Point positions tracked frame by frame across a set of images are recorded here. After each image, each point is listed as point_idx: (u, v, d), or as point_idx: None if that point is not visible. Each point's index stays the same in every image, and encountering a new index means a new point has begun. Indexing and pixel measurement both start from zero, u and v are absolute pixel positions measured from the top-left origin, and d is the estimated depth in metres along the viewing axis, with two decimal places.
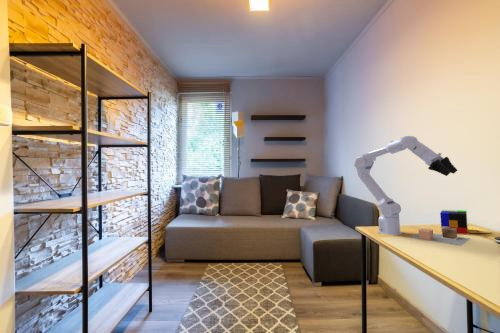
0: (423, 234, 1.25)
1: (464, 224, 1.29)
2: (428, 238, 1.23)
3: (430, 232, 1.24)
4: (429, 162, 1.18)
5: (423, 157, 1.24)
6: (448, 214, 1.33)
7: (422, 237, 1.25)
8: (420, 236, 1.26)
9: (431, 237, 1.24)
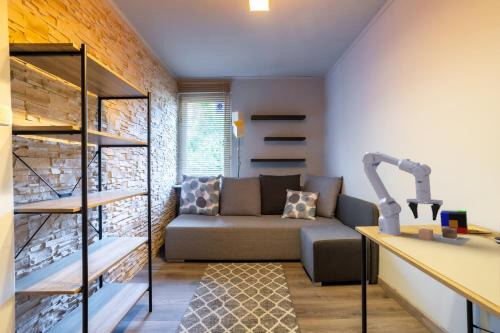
0: (423, 234, 1.25)
1: (464, 224, 1.29)
2: (428, 238, 1.23)
3: (430, 232, 1.24)
4: None
5: None
6: (448, 214, 1.33)
7: (422, 237, 1.25)
8: (420, 236, 1.26)
9: (431, 237, 1.24)
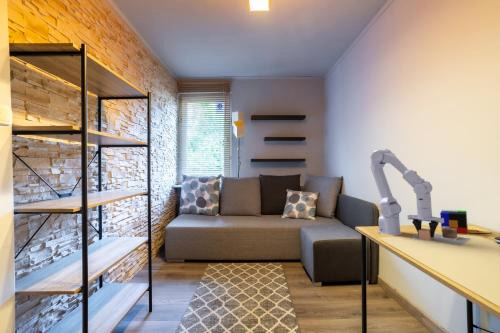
0: (423, 234, 1.25)
1: (464, 224, 1.29)
2: (428, 238, 1.23)
3: None
4: None
5: None
6: (448, 214, 1.33)
7: (422, 237, 1.25)
8: (420, 236, 1.26)
9: None
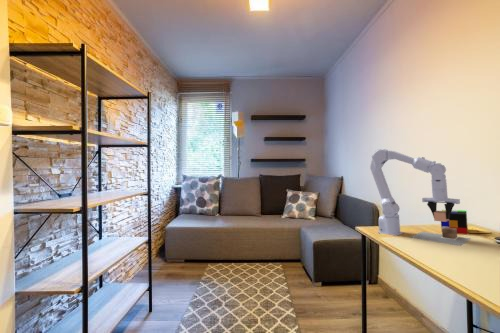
0: (439, 215, 1.24)
1: (464, 224, 1.29)
2: (444, 220, 1.23)
3: None
4: None
5: None
6: None
7: (437, 219, 1.25)
8: (435, 218, 1.25)
9: (447, 219, 1.24)
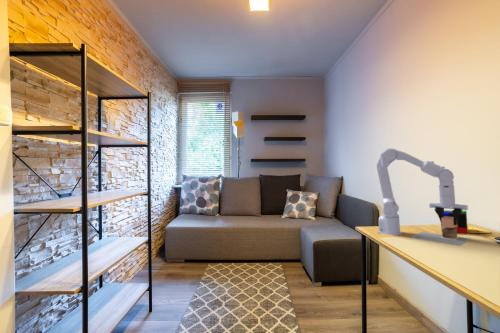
0: (447, 221, 1.24)
1: (464, 224, 1.29)
2: (451, 225, 1.23)
3: (453, 219, 1.23)
4: None
5: None
6: (448, 214, 1.33)
7: (445, 225, 1.25)
8: (443, 224, 1.25)
9: (454, 225, 1.23)
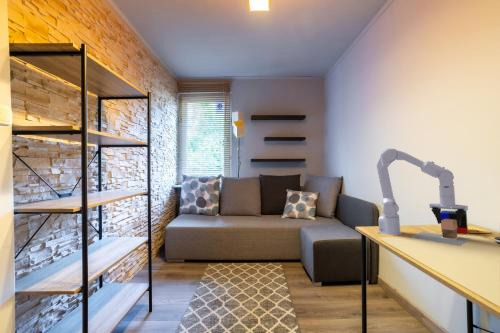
0: (447, 224, 1.24)
1: (464, 224, 1.29)
2: (451, 228, 1.23)
3: (453, 222, 1.23)
4: None
5: None
6: (448, 214, 1.33)
7: (445, 227, 1.25)
8: (443, 226, 1.25)
9: (454, 227, 1.23)
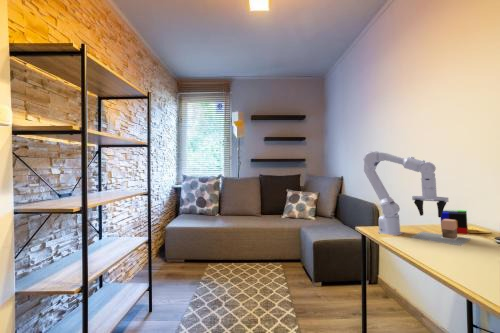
0: (447, 224, 1.24)
1: (464, 224, 1.29)
2: (451, 228, 1.23)
3: (453, 222, 1.23)
4: None
5: None
6: (448, 214, 1.33)
7: (445, 227, 1.25)
8: (443, 226, 1.25)
9: (454, 227, 1.23)
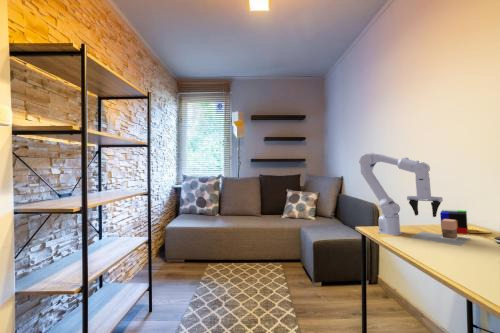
0: (447, 224, 1.24)
1: (464, 224, 1.29)
2: (451, 228, 1.23)
3: (453, 222, 1.23)
4: None
5: None
6: (448, 214, 1.33)
7: (445, 227, 1.25)
8: (443, 226, 1.25)
9: (454, 227, 1.23)
